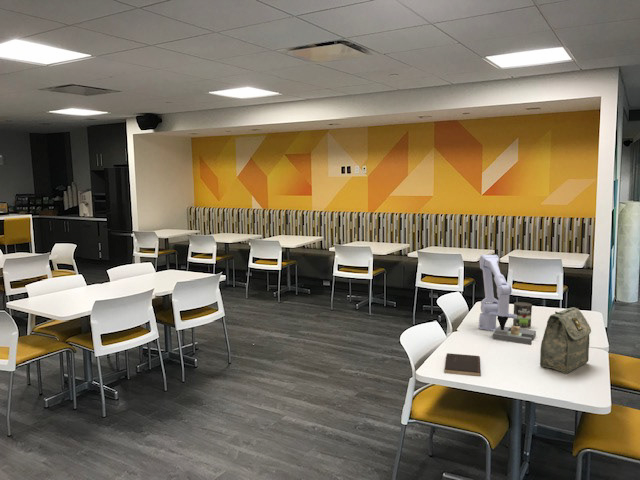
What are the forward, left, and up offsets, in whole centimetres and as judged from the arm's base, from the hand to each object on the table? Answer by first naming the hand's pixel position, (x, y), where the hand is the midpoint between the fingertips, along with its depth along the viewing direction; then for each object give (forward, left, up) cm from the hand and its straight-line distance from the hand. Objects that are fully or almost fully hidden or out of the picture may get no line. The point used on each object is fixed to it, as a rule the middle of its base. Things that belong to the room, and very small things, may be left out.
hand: (502, 329), depth 296 cm
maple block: (+7, 0, -1) cm, 7 cm away
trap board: (+6, +3, -4) cm, 8 cm away
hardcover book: (-7, -56, -5) cm, 57 cm away
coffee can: (+6, +28, -5) cm, 29 cm away
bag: (+35, -31, -5) cm, 47 cm away
